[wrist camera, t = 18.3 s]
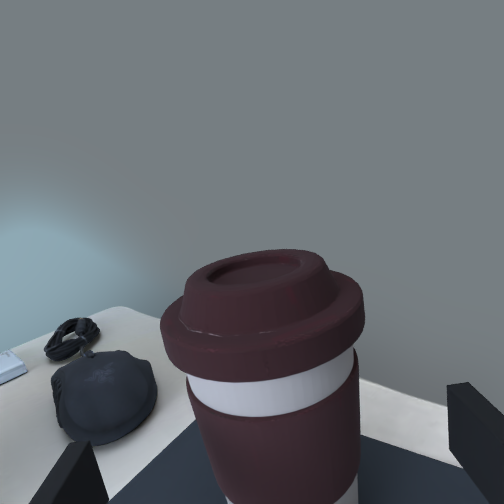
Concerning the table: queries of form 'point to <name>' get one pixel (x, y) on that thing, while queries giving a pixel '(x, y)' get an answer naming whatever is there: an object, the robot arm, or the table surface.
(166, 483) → the mat
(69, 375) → the computer mouse
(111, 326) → the table surface
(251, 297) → the coffee cup
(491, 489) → the robot arm
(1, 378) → the hard drive
